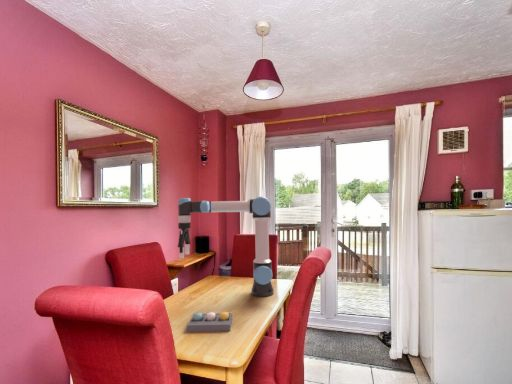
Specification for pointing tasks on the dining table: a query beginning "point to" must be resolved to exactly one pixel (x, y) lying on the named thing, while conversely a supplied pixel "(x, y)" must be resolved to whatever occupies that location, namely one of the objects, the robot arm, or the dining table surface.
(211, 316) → the button white
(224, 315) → the button ochre
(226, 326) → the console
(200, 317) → the button teal
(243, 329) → the dining table surface
